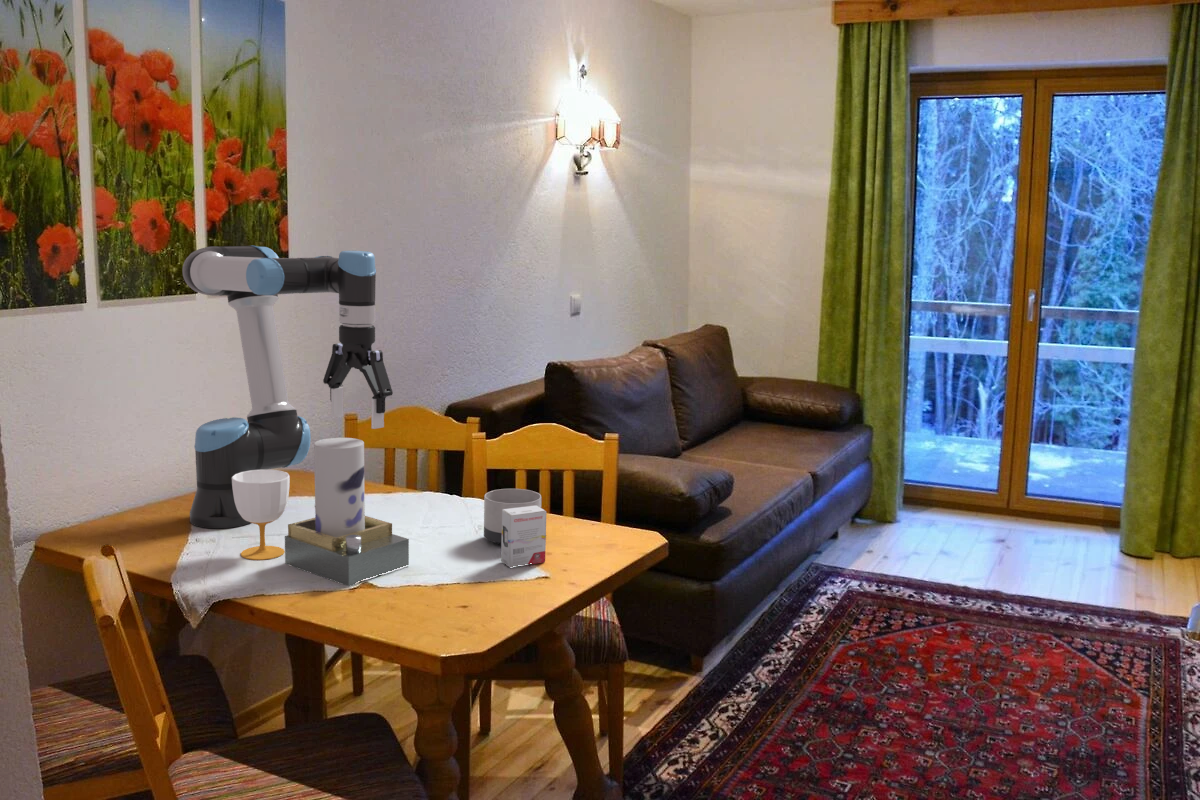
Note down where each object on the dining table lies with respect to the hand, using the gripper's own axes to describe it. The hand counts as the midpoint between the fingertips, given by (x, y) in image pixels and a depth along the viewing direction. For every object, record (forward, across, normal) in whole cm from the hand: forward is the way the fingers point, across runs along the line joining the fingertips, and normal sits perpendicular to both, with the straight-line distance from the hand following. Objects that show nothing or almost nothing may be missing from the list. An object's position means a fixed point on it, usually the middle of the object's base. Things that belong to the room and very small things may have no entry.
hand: (357, 422), depth 236 cm
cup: (+28, -10, -17) cm, 35 cm away
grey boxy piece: (+28, +8, -9) cm, 30 cm away
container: (+22, +6, -10) cm, 25 cm away
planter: (+28, +21, +27) cm, 44 cm away
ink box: (+28, +34, +18) cm, 47 cm away
